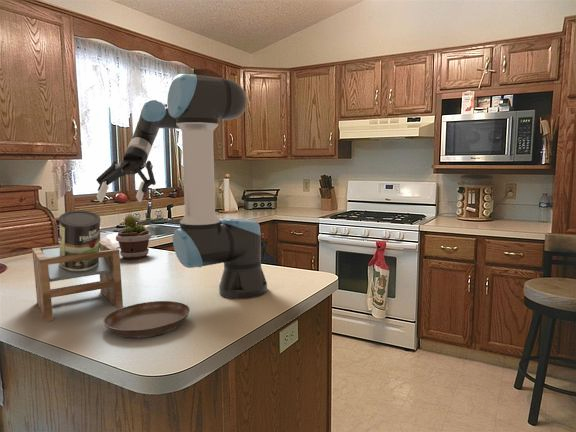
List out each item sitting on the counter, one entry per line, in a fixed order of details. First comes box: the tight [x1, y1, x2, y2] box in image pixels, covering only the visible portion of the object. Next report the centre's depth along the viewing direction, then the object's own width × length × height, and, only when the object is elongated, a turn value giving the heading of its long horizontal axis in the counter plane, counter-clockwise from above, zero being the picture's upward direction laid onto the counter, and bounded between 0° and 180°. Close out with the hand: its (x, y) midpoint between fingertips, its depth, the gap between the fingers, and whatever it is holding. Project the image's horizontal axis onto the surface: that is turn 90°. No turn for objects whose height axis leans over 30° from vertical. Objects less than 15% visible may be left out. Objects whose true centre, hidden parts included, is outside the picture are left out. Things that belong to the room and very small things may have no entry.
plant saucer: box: [103, 300, 190, 339], centre depth 106 cm, size 21×21×3 cm
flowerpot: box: [116, 212, 152, 260], centre depth 184 cm, size 14×15×20 cm
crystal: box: [101, 232, 120, 249], centre depth 213 cm, size 7×7×24 cm
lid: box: [42, 248, 109, 283], centre depth 122 cm, size 15×15×1 cm
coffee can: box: [58, 210, 101, 271], centre depth 118 cm, size 10×10×14 cm
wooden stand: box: [31, 240, 124, 322], centre depth 122 cm, size 20×20×16 cm
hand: (118, 199), depth 137 cm, fingers open, 13 cm apart
